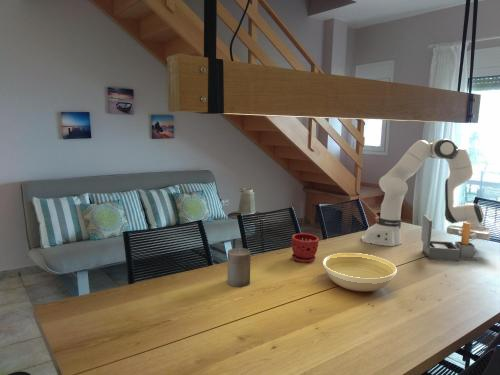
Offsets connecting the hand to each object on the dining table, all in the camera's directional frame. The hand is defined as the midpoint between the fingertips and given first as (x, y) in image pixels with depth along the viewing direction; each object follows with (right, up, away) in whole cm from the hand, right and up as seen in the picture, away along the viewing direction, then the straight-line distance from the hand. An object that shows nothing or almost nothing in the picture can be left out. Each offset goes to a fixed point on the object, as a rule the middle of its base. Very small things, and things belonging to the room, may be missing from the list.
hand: (465, 235), depth 198 cm
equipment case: (-12, -11, +3) cm, 16 cm away
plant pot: (-85, -12, -7) cm, 86 cm away
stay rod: (0, -9, +2) cm, 10 cm away
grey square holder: (0, -11, +2) cm, 12 cm away
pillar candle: (-116, -15, -37) cm, 123 cm away
